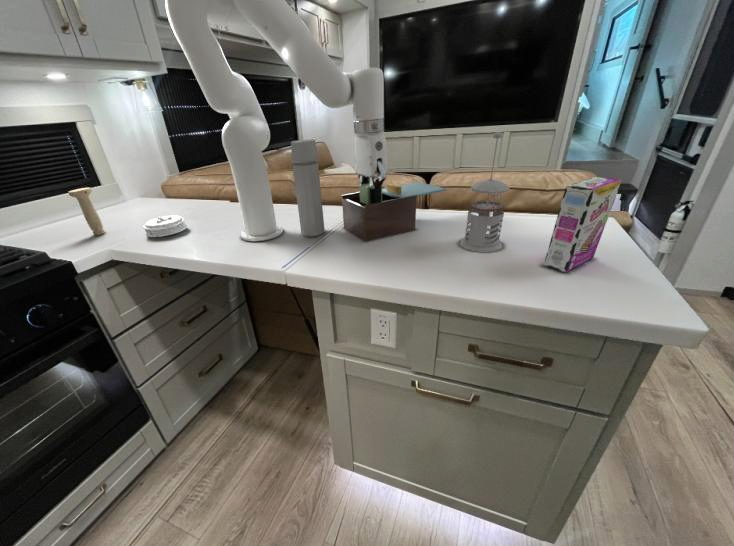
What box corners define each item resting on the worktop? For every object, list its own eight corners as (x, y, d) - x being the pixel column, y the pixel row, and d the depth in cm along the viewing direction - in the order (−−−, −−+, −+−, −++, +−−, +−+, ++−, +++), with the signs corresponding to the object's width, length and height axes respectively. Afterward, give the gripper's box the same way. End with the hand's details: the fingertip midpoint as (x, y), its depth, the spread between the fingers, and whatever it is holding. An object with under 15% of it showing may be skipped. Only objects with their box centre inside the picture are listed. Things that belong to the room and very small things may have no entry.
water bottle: (323, 237, 94) (313, 141, 81) (297, 237, 96) (283, 143, 83) (330, 227, 102) (322, 137, 89) (305, 227, 103) (294, 139, 91)
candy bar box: (567, 274, 65) (594, 189, 57) (542, 266, 69) (563, 185, 61) (595, 258, 70) (623, 178, 62) (570, 252, 74) (594, 175, 66)
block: (359, 201, 93) (359, 184, 91) (373, 198, 95) (373, 182, 92) (367, 205, 89) (367, 187, 87) (382, 202, 91) (382, 184, 89)
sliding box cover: (377, 191, 99) (377, 182, 97) (418, 183, 104) (419, 175, 102) (401, 199, 89) (401, 190, 87) (446, 190, 93) (447, 181, 92)
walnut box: (343, 227, 100) (341, 195, 95) (388, 218, 105) (388, 186, 100) (366, 241, 89) (365, 205, 84) (415, 230, 94) (417, 195, 89)
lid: (194, 230, 110) (190, 215, 107) (157, 242, 102) (151, 226, 99) (176, 224, 117) (171, 210, 115) (140, 235, 109) (134, 220, 107)
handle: (86, 237, 113) (64, 192, 105) (102, 230, 118) (83, 187, 110) (96, 237, 111) (75, 192, 103) (112, 231, 116) (93, 187, 109)
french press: (452, 246, 81) (465, 134, 69) (472, 233, 89) (487, 128, 76) (493, 255, 75) (515, 134, 63) (511, 239, 82) (534, 128, 70)
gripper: (400, 127, 77) (399, 205, 86) (365, 126, 91) (367, 193, 100) (372, 130, 75) (374, 210, 84) (341, 129, 88) (345, 198, 98)
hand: (370, 200), depth 92 cm, fingers closed on block, 4 cm apart
